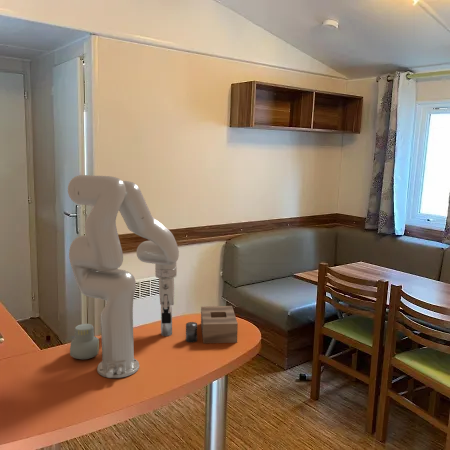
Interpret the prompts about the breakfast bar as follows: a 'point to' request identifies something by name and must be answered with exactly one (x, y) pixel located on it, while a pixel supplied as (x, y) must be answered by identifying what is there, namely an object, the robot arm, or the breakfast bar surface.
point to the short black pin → (191, 332)
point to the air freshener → (84, 342)
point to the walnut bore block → (218, 324)
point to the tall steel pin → (166, 325)
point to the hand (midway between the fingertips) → (166, 320)
